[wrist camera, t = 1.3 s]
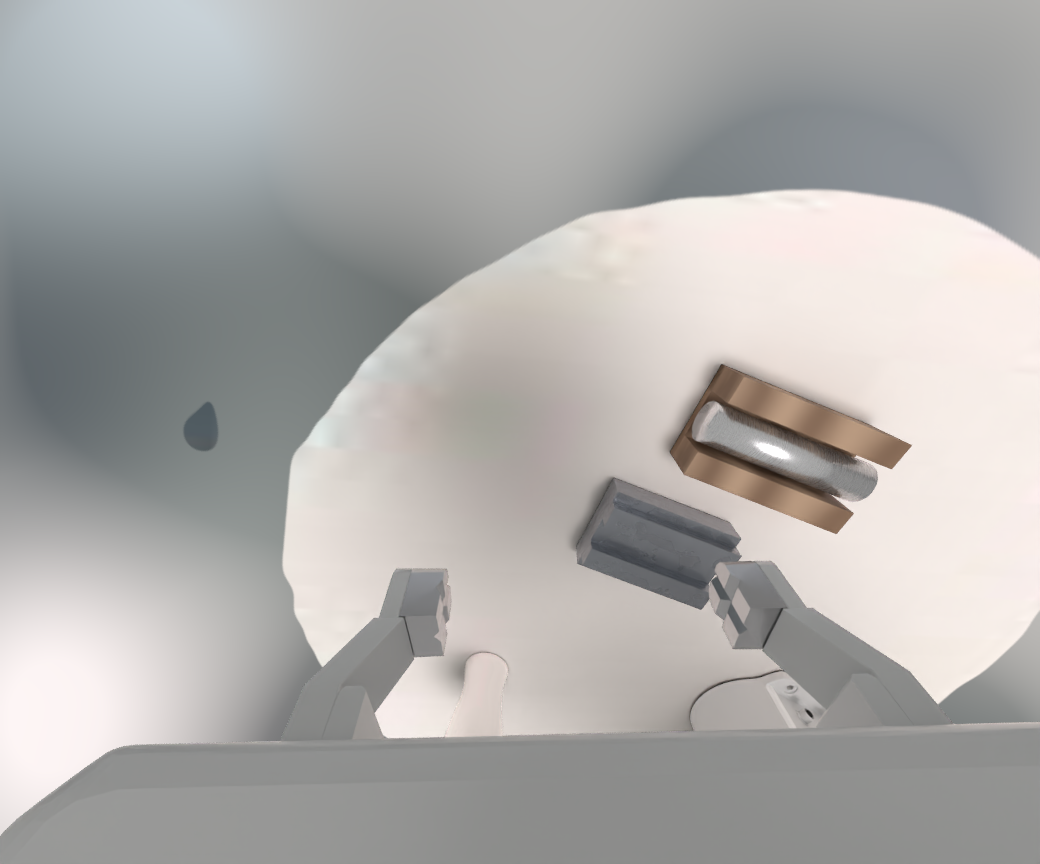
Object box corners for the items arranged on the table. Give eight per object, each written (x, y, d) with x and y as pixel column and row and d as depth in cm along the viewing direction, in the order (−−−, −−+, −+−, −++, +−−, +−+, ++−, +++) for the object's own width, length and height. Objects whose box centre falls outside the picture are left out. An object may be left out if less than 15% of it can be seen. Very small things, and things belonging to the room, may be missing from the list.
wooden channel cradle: (869, 425, 39) (912, 445, 34) (806, 505, 43) (836, 534, 38) (721, 364, 38) (744, 376, 33) (669, 452, 42) (683, 474, 37)
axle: (856, 455, 39) (887, 475, 35) (829, 487, 41) (856, 509, 37) (708, 395, 38) (724, 409, 35) (687, 430, 40) (699, 447, 36)
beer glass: (452, 661, 56) (417, 788, 42) (491, 642, 54) (468, 769, 40) (482, 691, 58) (458, 823, 44) (521, 674, 56) (509, 807, 42)
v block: (729, 522, 44) (747, 548, 40) (684, 586, 48) (696, 616, 44) (613, 477, 43) (619, 499, 39) (576, 546, 47) (578, 573, 43)
